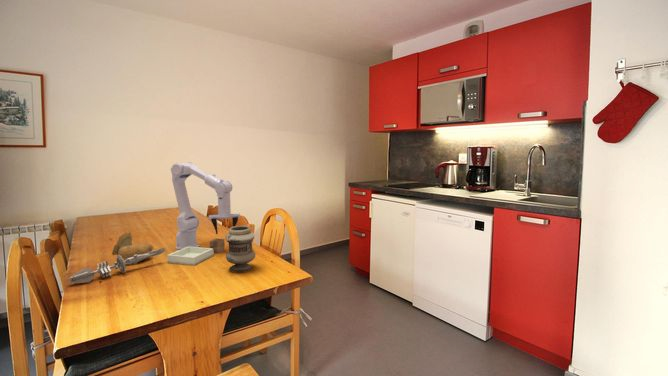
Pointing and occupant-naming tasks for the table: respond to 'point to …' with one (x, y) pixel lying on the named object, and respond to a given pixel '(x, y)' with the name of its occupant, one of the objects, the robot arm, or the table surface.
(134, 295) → the table surface
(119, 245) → the rock
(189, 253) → the sage tray
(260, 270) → the table surface
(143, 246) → the potato
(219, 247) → the walnut block
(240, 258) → the apothecary jar
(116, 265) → the spaceship
